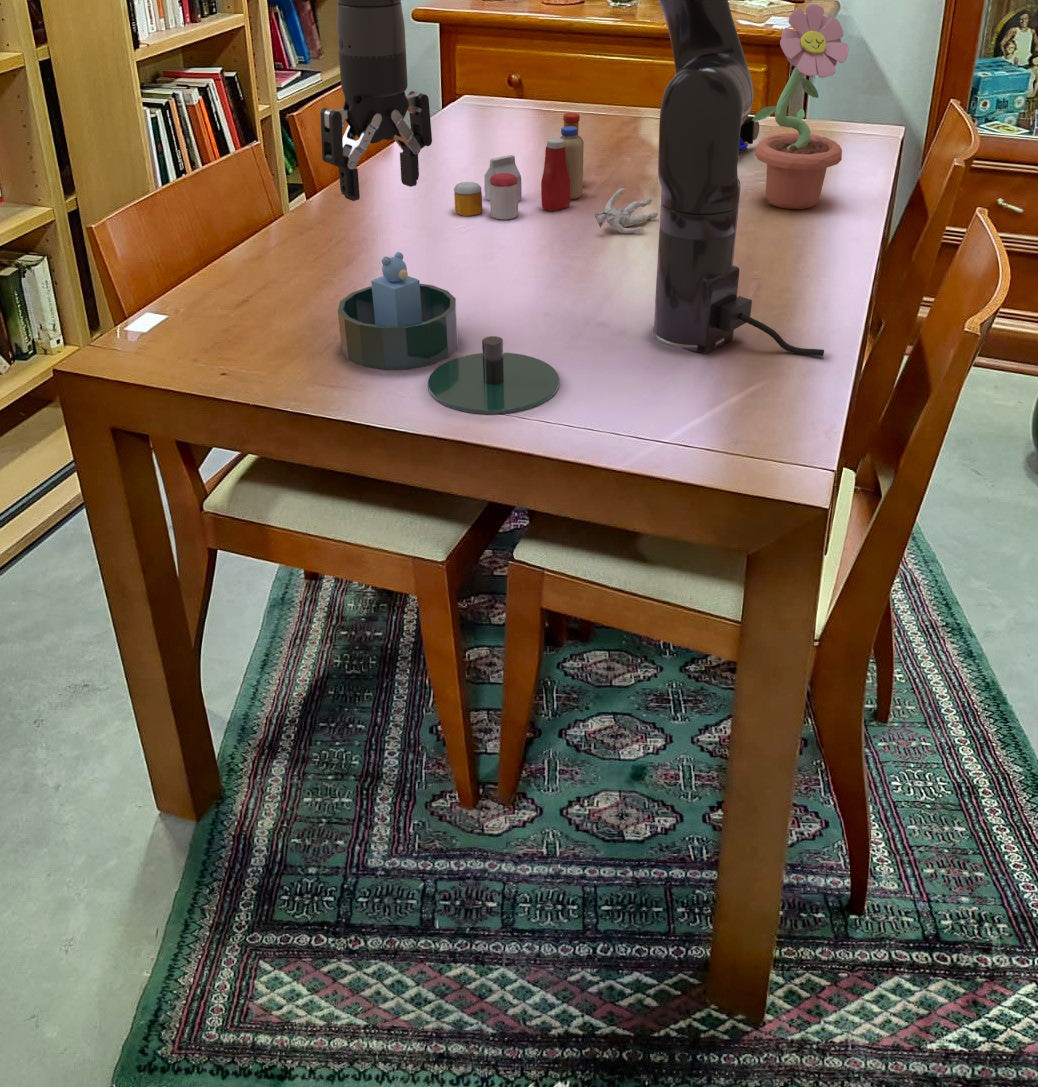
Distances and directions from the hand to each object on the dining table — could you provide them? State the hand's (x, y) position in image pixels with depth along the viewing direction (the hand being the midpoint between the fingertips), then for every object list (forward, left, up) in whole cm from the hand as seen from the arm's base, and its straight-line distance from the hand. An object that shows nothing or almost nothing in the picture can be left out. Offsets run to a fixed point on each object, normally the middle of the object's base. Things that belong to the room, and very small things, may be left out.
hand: (381, 192), depth 135 cm
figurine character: (+15, -97, -19) cm, 100 cm away
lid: (-20, +2, -18) cm, 27 cm away
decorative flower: (-9, -80, -19) cm, 83 cm away
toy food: (+24, -52, -19) cm, 60 cm away
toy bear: (-4, +2, -18) cm, 19 cm away
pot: (-4, +2, -19) cm, 19 cm away
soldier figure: (+4, -53, -19) cm, 56 cm away
